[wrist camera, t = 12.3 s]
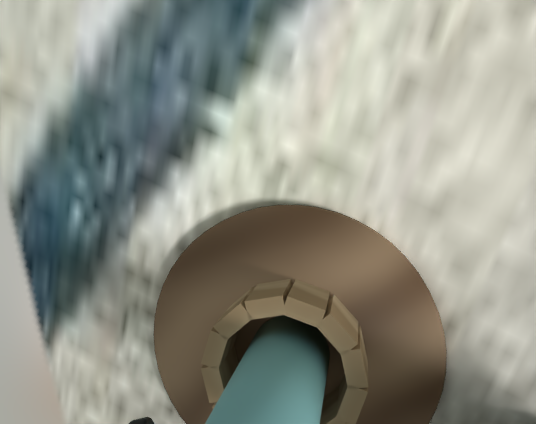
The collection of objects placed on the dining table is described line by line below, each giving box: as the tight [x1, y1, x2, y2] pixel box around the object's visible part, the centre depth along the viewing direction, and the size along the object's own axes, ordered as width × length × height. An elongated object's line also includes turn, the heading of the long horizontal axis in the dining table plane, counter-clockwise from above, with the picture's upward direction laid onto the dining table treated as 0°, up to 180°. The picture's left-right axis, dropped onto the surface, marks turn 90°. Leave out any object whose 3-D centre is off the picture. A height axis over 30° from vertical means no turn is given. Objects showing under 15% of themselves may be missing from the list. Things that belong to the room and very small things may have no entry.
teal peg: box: [205, 315, 330, 424], centre depth 19 cm, size 4×4×13 cm
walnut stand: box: [154, 205, 446, 424], centre depth 24 cm, size 17×17×4 cm
